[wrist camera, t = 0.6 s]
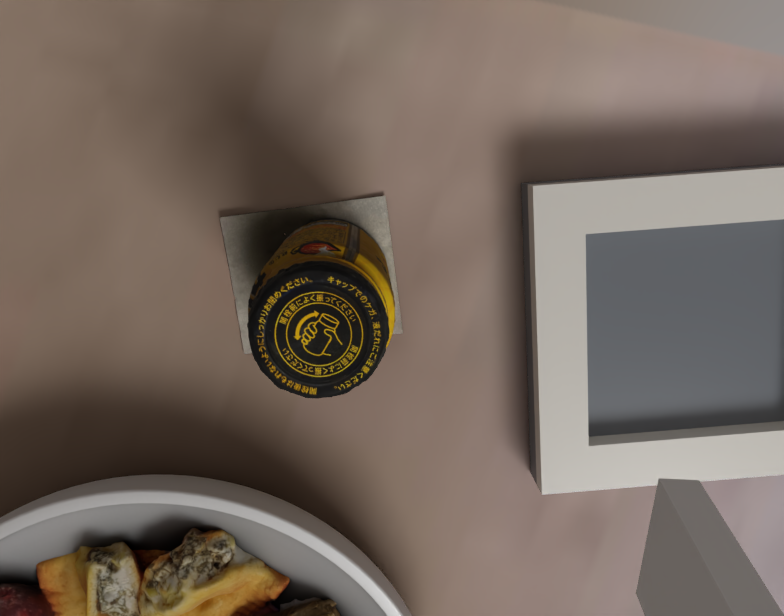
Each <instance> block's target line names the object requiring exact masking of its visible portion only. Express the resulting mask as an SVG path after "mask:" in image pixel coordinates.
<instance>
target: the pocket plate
mask: <svg viewBox="0 0 784 616" xmlns="http://www.w3.org/2000/svg"><path fill="white" fill-rule="evenodd" d="M521 191H522V222H523V253H524V283H525V314H526V345H527V376H528V407H529V437H530V468H531V474H532V476H533V478H534V480H535V482H536V484H537V486H538V488H539V490H540V492H541V494H542V495H544V494H556V493H569V492H581V491H593V490H605V489H617V488H629V487H641V486H653V485H657V484H658V479H659V478H662V479H685V480H699V481H700V482H702V481H714V480H726V479H738V478H750V477H762V476H774V475H784V164H772V165H758V166H745V167H731V168H717V169H704V170H690V171H677V172H663V173H649V174H636V175H622V176H609V177H595V178H581V179H568V180H554V181H541V182H527V183H521Z"/></svg>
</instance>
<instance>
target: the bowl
mask: <svg viewBox="0 0 784 616" xmlns="http://www.w3.org/2000/svg"><path fill="white" fill-rule="evenodd" d="M0 616H412V615H411V613H410V611H409V609H408V608H407V606H406V605H405V603H404V601H403V600H402V598H401V597H400V595H399V594H398V592H397V591H396V590H395V588H394V587H393V585H392V584H391V583H390V582H389V580H388V579H387V578H386V577H385V576H384V574H383V573H382V572H381V571H380V570H379V568H378V567H377V566H376V565H375V564H374V563H373V562H372V561H371V560H370V559H369V558H368V557H367V556H366V555H365V554H364V553H363V552H362V551H361V550H360V549H359V548H358V547H356V546H355V545H354V544H353V543H352V542H350V541H349V540H348V539H347V538H346V537H344V536H343V535H342V534H341V533H339V532H338V531H336V530H335V529H333V528H332V527H331V526H329V525H328V524H326V523H325V522H323V521H321V520H320V519H318V518H317V517H315V516H313V515H312V514H310V513H308V512H306V511H304V510H303V509H301V508H299V507H297V506H295V505H293V504H291V503H289V502H286V501H284V500H282V499H280V498H277V497H275V496H272V495H270V494H267V493H264V492H262V491H259V490H255V489H252V488H249V487H246V486H242V485H238V484H234V483H230V482H226V481H221V480H216V479H210V478H203V477H195V476H185V475H156V474H152V475H133V476H124V477H115V478H109V479H104V480H98V481H93V482H89V483H85V484H81V485H77V486H73V487H70V488H67V489H64V490H60V491H57V492H54V493H52V494H49V495H47V496H44V497H41V498H39V499H37V500H34V501H32V502H30V503H28V504H26V505H23V506H21V507H19V508H17V509H15V510H13V511H12V512H10V513H8V514H6V515H4V516H2V517H1V518H0Z"/></svg>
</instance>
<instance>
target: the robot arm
mask: <svg viewBox="0 0 784 616" xmlns="http://www.w3.org/2000/svg"><path fill="white" fill-rule="evenodd" d="M636 594H637V597H638V599H639V602H640V604H641V607H642V609H643V612H644V614H645V616H784V614H783V613H782V611H781V610H780V608H779V606H778V605H777V603H776V602H775V600H774V598H773V597H772V595H771V594H770V592H769V591H768V589H767V587H766V586H765V584H764V583H763V581H762V579H761V578H760V576H759V575H758V573H757V572H756V570H755V568H754V567H753V565H752V564H751V562H750V560H749V559H748V557H747V556H746V554H745V553H744V551H743V549H742V548H741V546H740V545H739V543H738V541H737V540H736V538H735V537H734V535H733V534H732V532H731V530H730V529H729V527H728V526H727V524H726V522H725V521H724V519H723V518H722V516H721V515H720V513H719V511H718V510H717V508H716V507H715V505H714V503H713V502H712V500H711V499H710V497H709V496H708V494H707V492H706V491H705V489H704V488H703V486H702V484H701V483H700V481H699V480H685V479H662V478H659V479H658V484H657V490H656V495H655V500H654V505H653V510H652V515H651V520H650V525H649V530H648V535H647V540H646V545H645V550H644V555H643V560H642V565H641V570H640V575H639V580H638V585H637V590H636Z"/></svg>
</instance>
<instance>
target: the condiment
mask: <svg viewBox="0 0 784 616" xmlns="http://www.w3.org/2000/svg"><path fill="white" fill-rule="evenodd" d="M220 222H221V228H222V232H223V237H224V242H225V248H226V253H227V259H228V264H229V269H230V274H231V280H232V286H233V292H234V296H235V303H236V309H237V315H238V321H239V326H240V331H241V338H242V344H243V349H244V354H249V353H252V354H253V356H254V359H255V361H256V362H257V364H258V366H259V368H260V370H261V371H262V372H263V373H264V374H265V375H266V376H267V377H268V378H269V379H270V380H271V381H272V382H273V383H274V384H275V385H276V386H277V387H278V388H280V389H284V390H286V391H289V392H290V393H294V394H297V395H300V396H303V397H305V398H323V397H332V396H337V395H341V394H344V393H347V392H349V391H350V390H351V389H353V388H354V387H356V386H359V385H360V384H361V383H362V382H364V381H366V380H367V379H368V378H369V377H370V376H371V375H372V374H373V372H374V371H375V369H376V368H377V366H378V364H379V363H380V361H381V359H382V357H383V356H384V353H385V351H386V348H387V346H388V344H389V342H390V339H391V336H392V334H402V333H403V330H402V322H401V315H400V307H399V299H398V291H397V283H396V275H395V268H394V260H393V252H392V244H391V236H390V228H389V221H388V212H387V204H386V197H385V196H380V197H372V198H364V199H356V200H348V201H342V202H333V203H325V204H318V205H310V206H303V207H295V208H289V209H281V210H273V211H265V212H257V213H250V214H243V215H235V216H227V217H220ZM284 233H286V235H284Z"/></svg>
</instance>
